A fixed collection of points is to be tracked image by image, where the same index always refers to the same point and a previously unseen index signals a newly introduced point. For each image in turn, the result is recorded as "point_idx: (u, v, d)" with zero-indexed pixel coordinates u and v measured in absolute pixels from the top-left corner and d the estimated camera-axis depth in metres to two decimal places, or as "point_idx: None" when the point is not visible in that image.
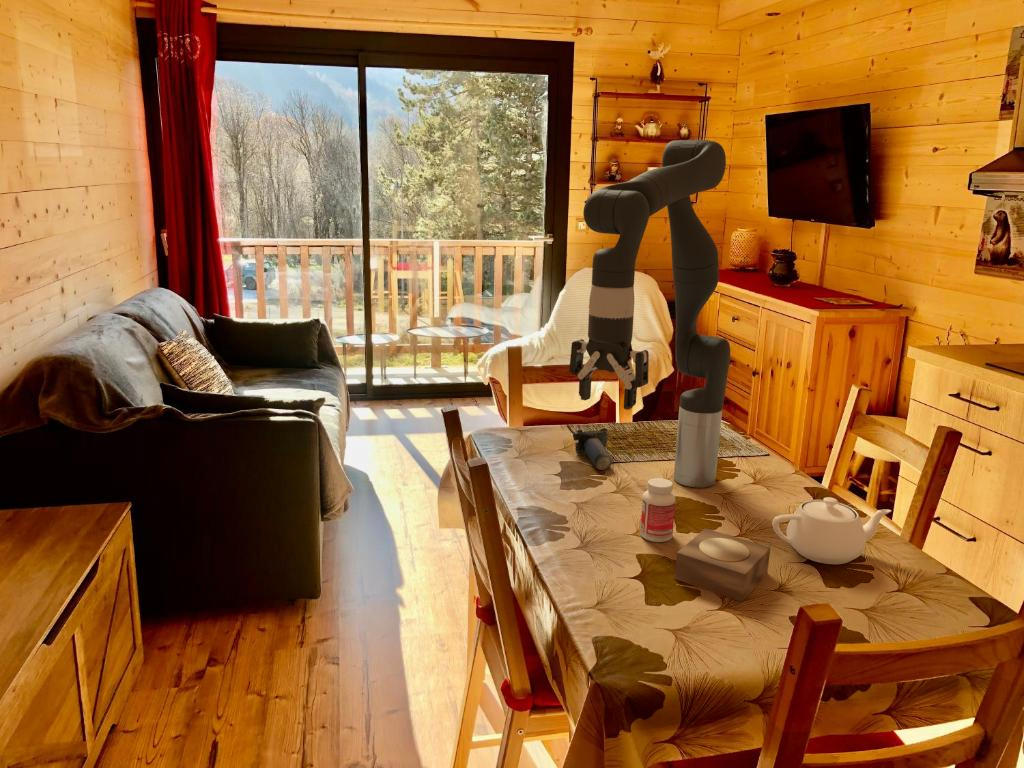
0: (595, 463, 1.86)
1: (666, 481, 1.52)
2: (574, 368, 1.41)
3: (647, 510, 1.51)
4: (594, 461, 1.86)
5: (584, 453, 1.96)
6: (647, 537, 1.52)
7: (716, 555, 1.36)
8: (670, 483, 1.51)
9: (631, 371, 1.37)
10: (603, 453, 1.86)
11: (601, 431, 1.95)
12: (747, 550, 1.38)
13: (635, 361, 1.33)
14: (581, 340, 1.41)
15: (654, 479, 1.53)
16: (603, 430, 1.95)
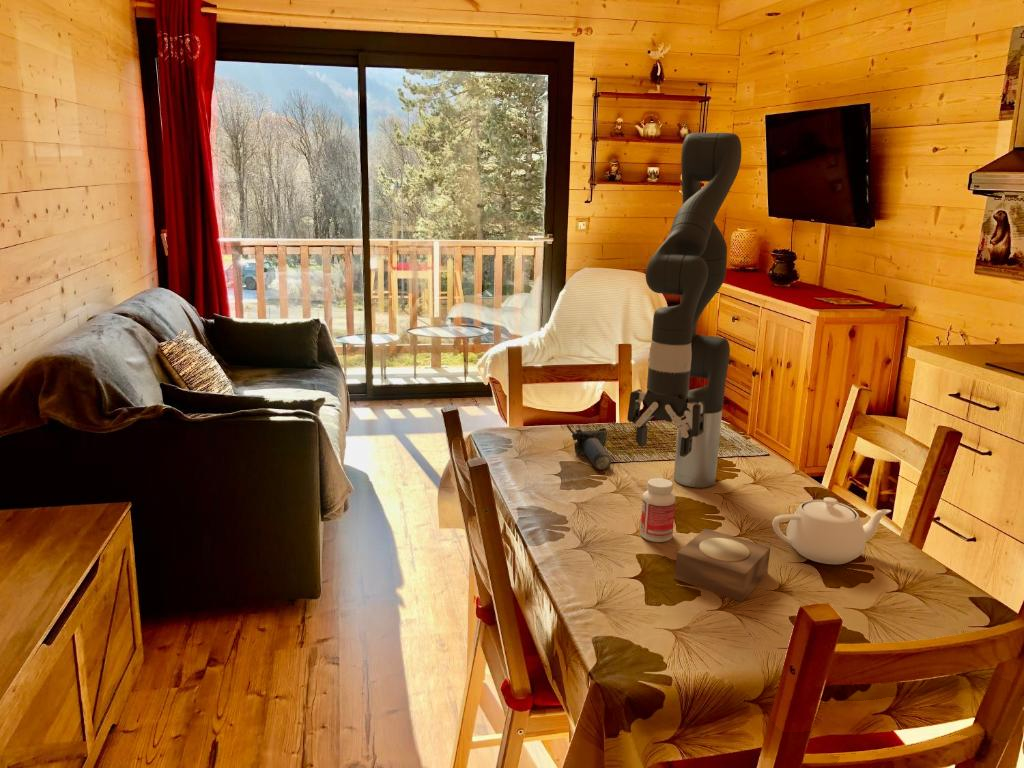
0: (594, 463, 1.86)
1: (666, 481, 1.52)
2: (632, 416, 1.51)
3: (647, 510, 1.51)
4: (593, 461, 1.86)
5: (583, 453, 1.96)
6: (647, 537, 1.52)
7: (716, 555, 1.36)
8: (670, 483, 1.51)
9: (687, 421, 1.46)
10: (603, 453, 1.86)
11: (600, 431, 1.95)
12: (747, 550, 1.38)
13: (692, 412, 1.43)
14: (639, 390, 1.51)
15: (654, 479, 1.53)
16: (602, 430, 1.96)
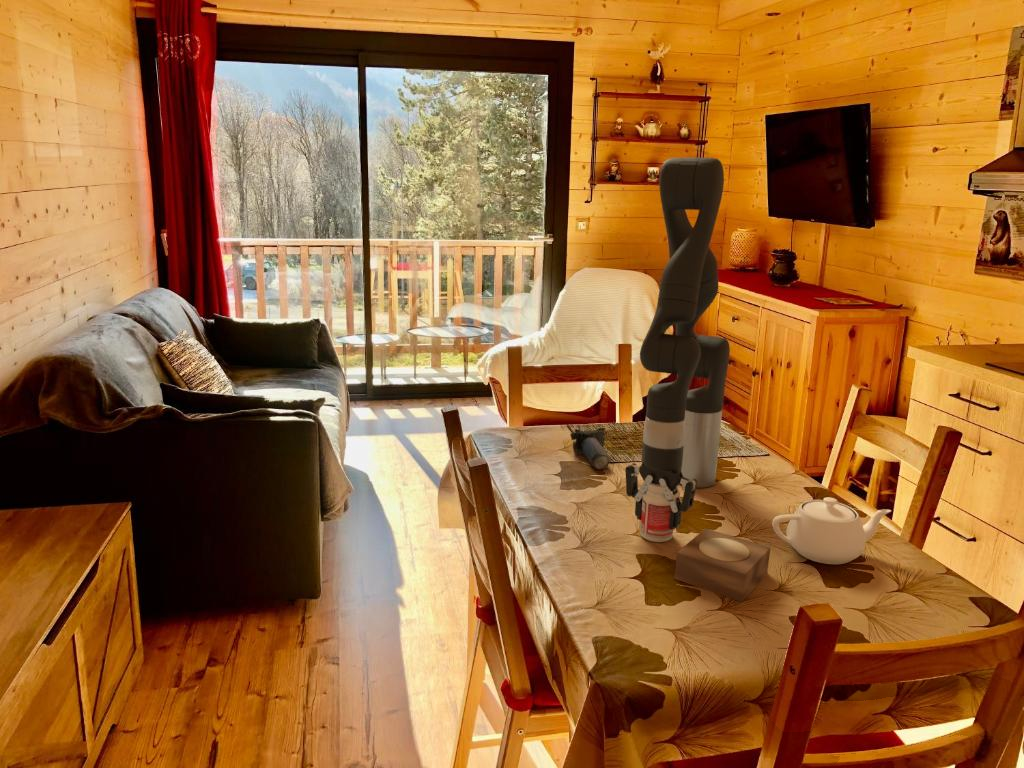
0: (593, 462, 1.86)
1: None
2: (631, 490, 1.54)
3: (647, 509, 1.51)
4: (592, 460, 1.87)
5: (582, 452, 1.96)
6: (647, 537, 1.52)
7: (716, 555, 1.36)
8: None
9: (678, 495, 1.51)
10: (601, 452, 1.86)
11: (598, 430, 1.96)
12: (747, 550, 1.38)
13: (684, 489, 1.47)
14: (633, 464, 1.55)
15: None
16: (600, 429, 1.96)
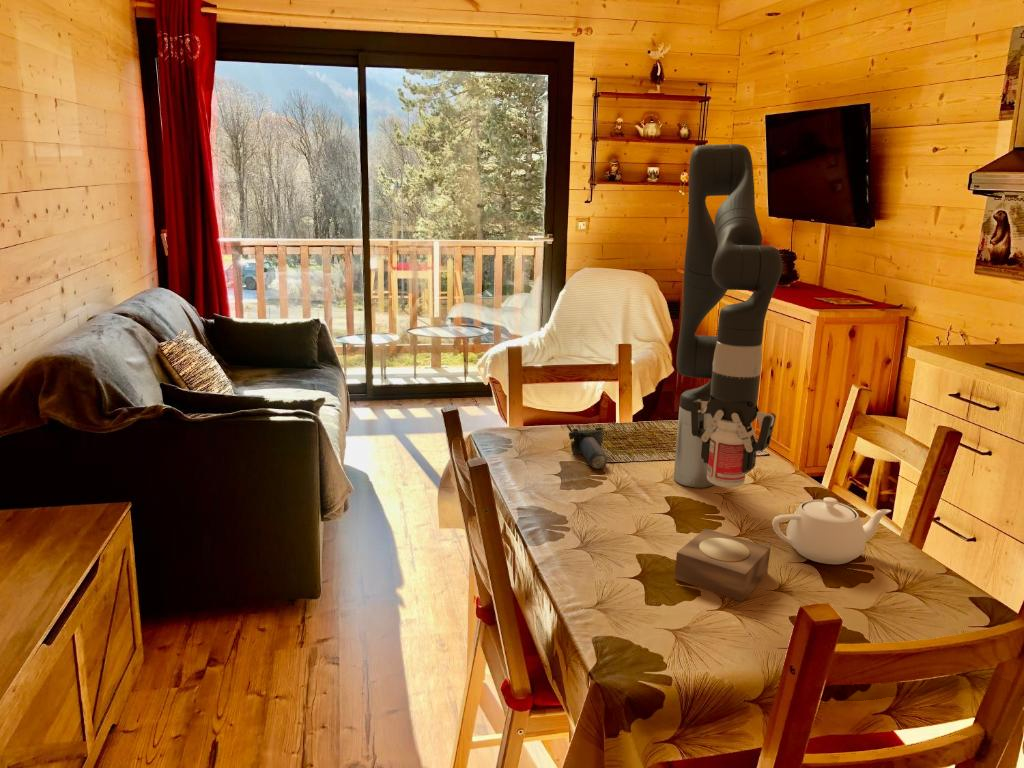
0: (590, 462, 1.87)
1: None
2: (697, 429, 1.36)
3: (716, 450, 1.32)
4: (589, 460, 1.87)
5: (580, 452, 1.97)
6: (716, 482, 1.33)
7: (716, 555, 1.36)
8: None
9: (753, 433, 1.32)
10: (599, 452, 1.86)
11: (597, 430, 1.96)
12: (747, 550, 1.38)
13: (762, 424, 1.28)
14: (700, 400, 1.36)
15: None
16: (599, 429, 1.96)
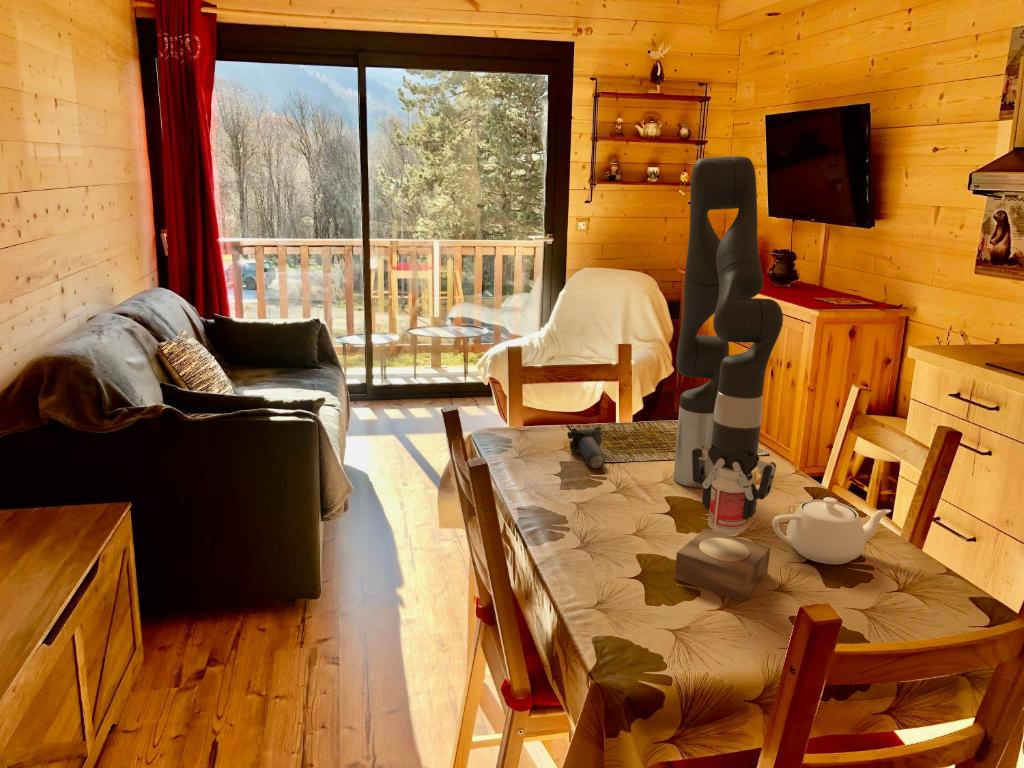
0: (588, 461, 1.87)
1: None
2: (698, 476, 1.37)
3: (717, 497, 1.34)
4: (587, 459, 1.87)
5: (578, 451, 1.97)
6: (718, 528, 1.35)
7: (716, 555, 1.36)
8: None
9: (753, 481, 1.34)
10: (597, 451, 1.87)
11: (595, 430, 1.96)
12: (747, 550, 1.38)
13: (762, 473, 1.30)
14: (701, 447, 1.38)
15: None
16: (597, 429, 1.96)
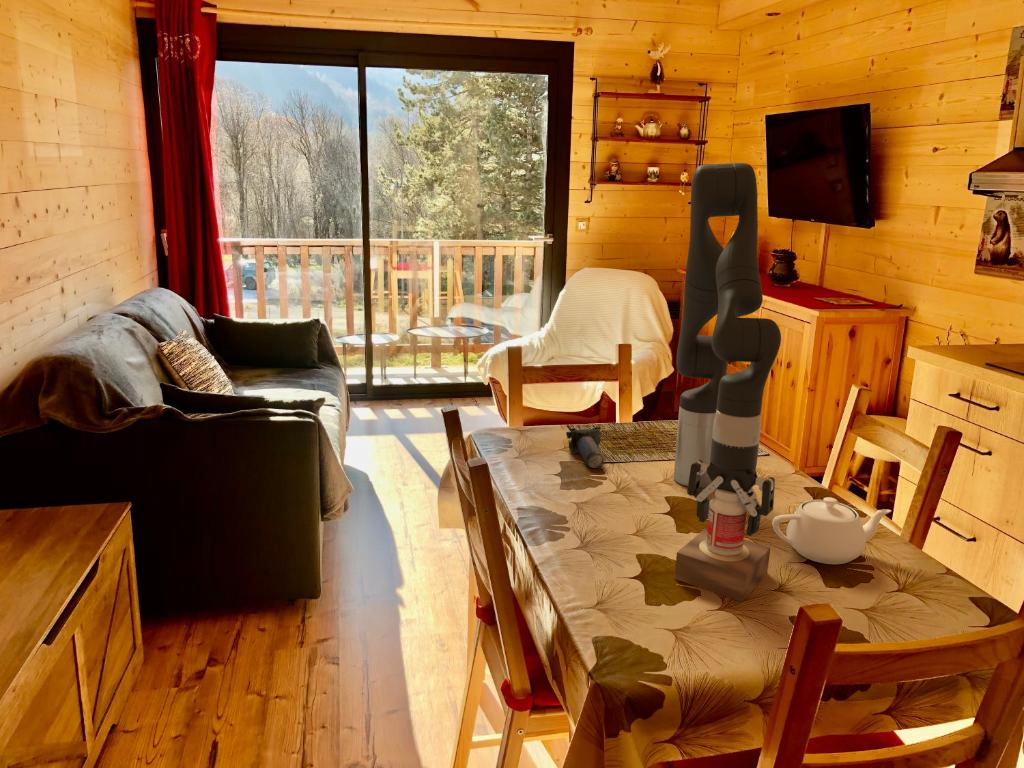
0: (587, 461, 1.87)
1: None
2: (693, 490, 1.38)
3: (715, 519, 1.35)
4: (586, 459, 1.87)
5: (577, 451, 1.97)
6: (715, 550, 1.36)
7: (716, 555, 1.36)
8: None
9: (755, 497, 1.34)
10: (595, 451, 1.87)
11: (594, 429, 1.96)
12: (747, 550, 1.38)
13: (762, 489, 1.31)
14: (700, 461, 1.38)
15: None
16: (596, 428, 1.97)
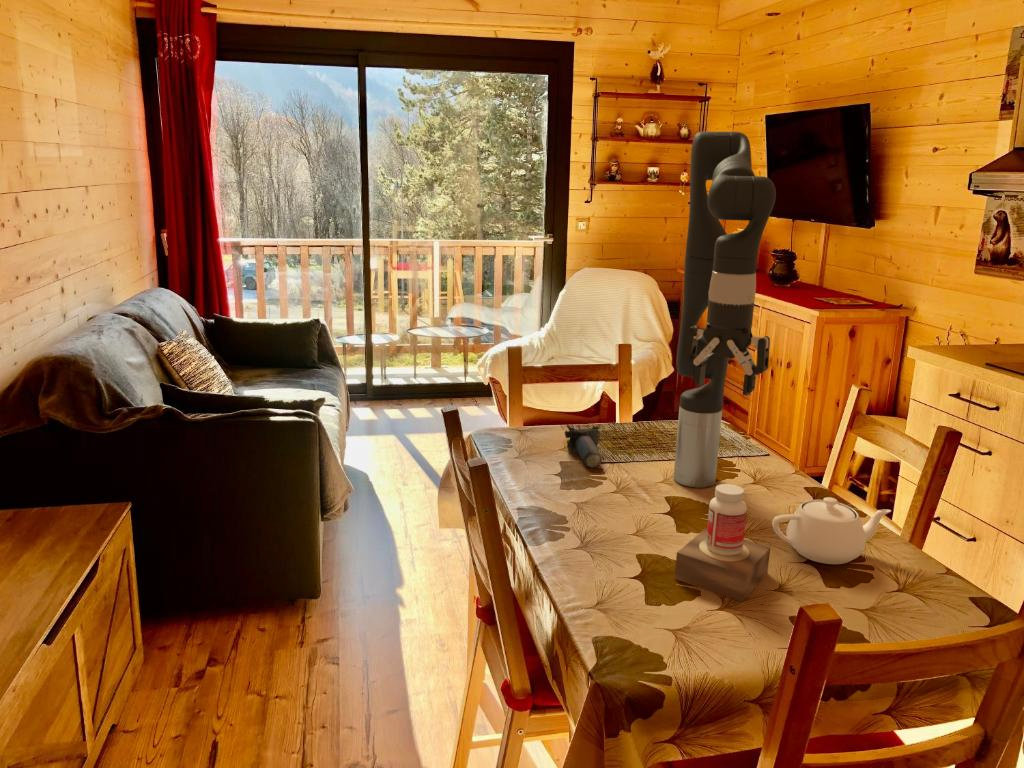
0: (585, 460, 1.87)
1: (736, 487, 1.36)
2: (689, 354, 1.41)
3: (715, 519, 1.35)
4: (584, 458, 1.88)
5: (576, 451, 1.97)
6: (715, 550, 1.36)
7: (716, 555, 1.36)
8: (741, 490, 1.35)
9: (750, 357, 1.37)
10: (593, 451, 1.87)
11: (593, 429, 1.97)
12: (747, 550, 1.38)
13: (757, 347, 1.34)
14: (697, 326, 1.41)
15: (722, 485, 1.37)
16: (595, 428, 1.97)
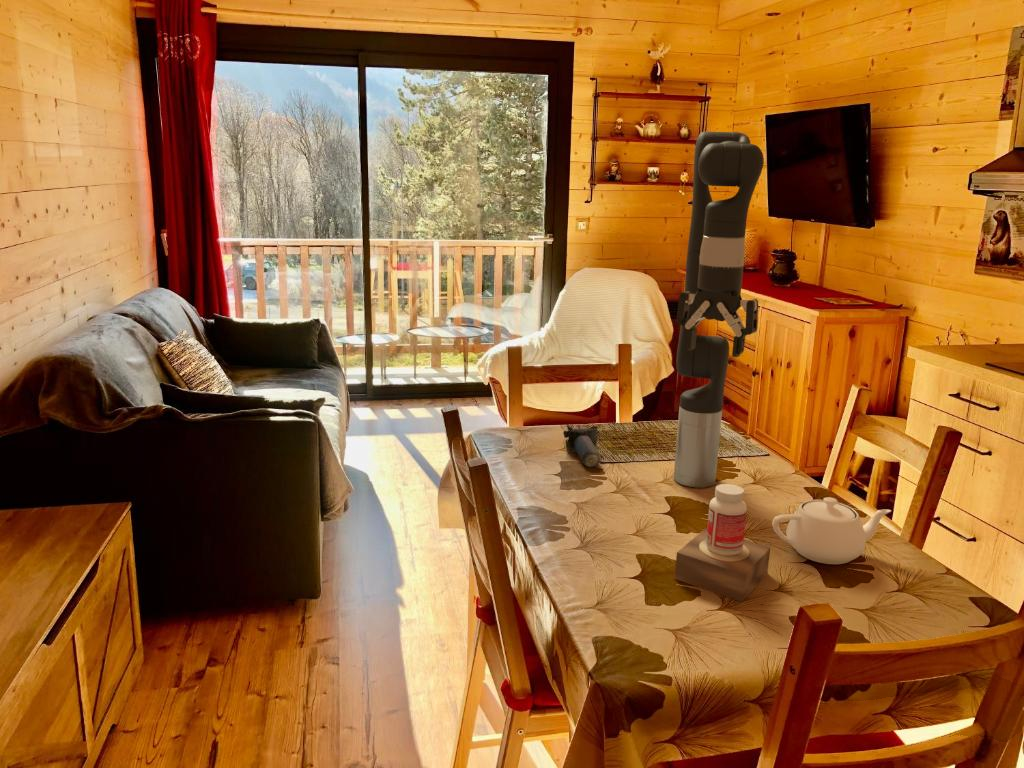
0: (583, 460, 1.88)
1: (736, 487, 1.36)
2: (681, 318, 1.46)
3: (715, 519, 1.35)
4: (582, 458, 1.88)
5: (574, 450, 1.98)
6: (715, 550, 1.36)
7: (716, 555, 1.36)
8: (741, 490, 1.35)
9: (739, 320, 1.42)
10: (592, 450, 1.87)
11: (591, 429, 1.97)
12: (747, 550, 1.38)
13: (746, 309, 1.39)
14: (688, 292, 1.46)
15: (722, 485, 1.37)
16: (593, 428, 1.97)
